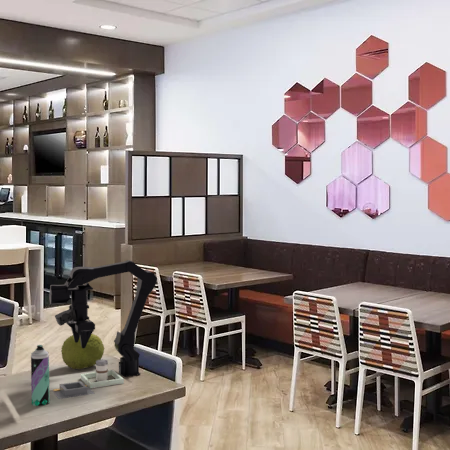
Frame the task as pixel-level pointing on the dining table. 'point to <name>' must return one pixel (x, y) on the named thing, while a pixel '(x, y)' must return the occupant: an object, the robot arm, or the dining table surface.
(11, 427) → the dining table surface
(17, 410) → the dining table surface
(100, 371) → the cylinder
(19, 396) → the dining table surface
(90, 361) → the fruit
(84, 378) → the tray
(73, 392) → the holder
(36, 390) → the spray can
